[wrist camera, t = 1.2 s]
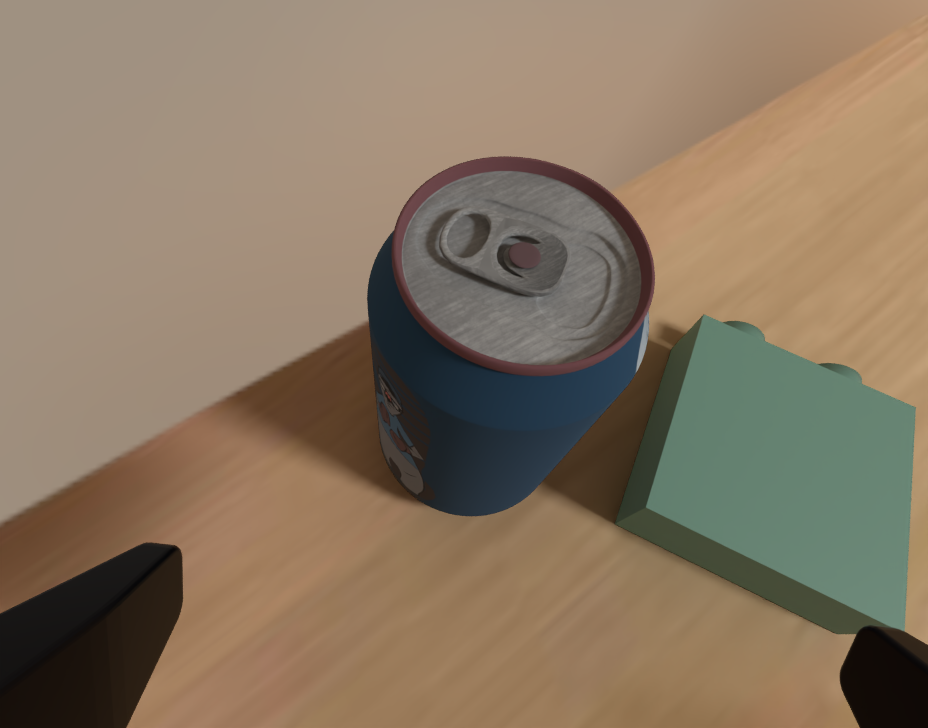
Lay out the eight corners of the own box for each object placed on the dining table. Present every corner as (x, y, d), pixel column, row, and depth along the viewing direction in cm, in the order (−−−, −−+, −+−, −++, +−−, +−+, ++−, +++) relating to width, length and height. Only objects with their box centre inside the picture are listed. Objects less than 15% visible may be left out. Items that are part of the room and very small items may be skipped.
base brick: (837, 634, 20) (904, 633, 17) (614, 524, 21) (645, 507, 18) (860, 411, 25) (916, 383, 22) (677, 329, 26) (710, 293, 23)
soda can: (567, 399, 23) (708, 200, 13) (515, 553, 20) (644, 457, 9) (423, 339, 24) (442, 101, 13) (349, 479, 21) (297, 311, 10)
